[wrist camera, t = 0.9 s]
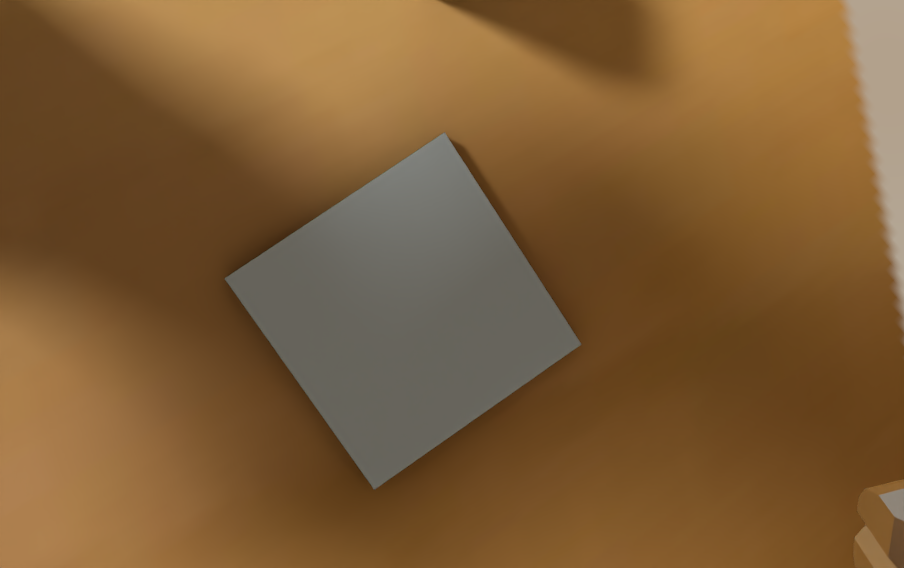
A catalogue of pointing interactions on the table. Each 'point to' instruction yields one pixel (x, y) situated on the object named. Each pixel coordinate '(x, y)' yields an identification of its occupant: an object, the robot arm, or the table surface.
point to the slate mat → (405, 310)
